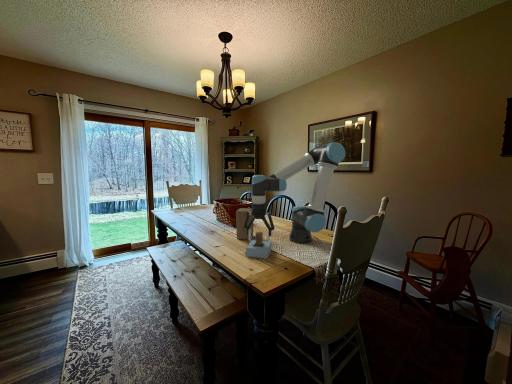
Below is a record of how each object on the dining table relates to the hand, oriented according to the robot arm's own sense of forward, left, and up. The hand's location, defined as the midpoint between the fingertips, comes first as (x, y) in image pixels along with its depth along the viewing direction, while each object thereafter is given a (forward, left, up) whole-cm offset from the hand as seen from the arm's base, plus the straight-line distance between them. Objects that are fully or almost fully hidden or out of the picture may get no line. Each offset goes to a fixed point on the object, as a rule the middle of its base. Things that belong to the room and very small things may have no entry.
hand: (259, 240), depth 117 cm
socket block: (0, 0, -7) cm, 7 cm away
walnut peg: (0, 0, -7) cm, 7 cm away
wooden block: (+16, -23, -7) cm, 29 cm away
